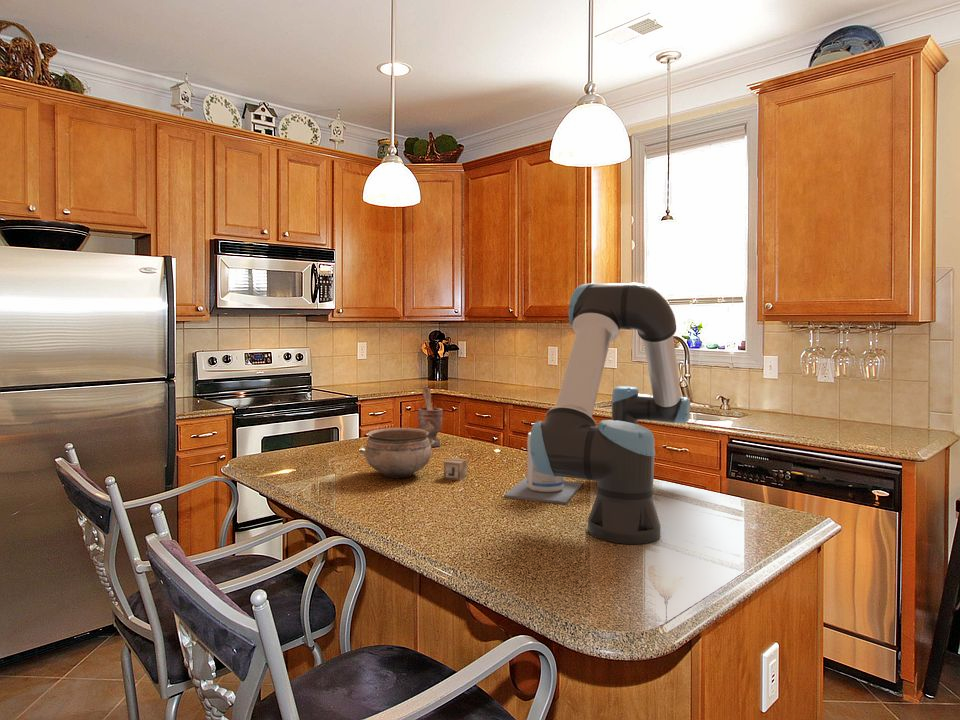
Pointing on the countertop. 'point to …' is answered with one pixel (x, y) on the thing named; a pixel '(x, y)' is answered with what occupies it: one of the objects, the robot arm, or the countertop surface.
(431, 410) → the mortar and pestle
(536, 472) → the supplement tub
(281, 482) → the countertop surface
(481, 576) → the countertop surface
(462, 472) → the lettered block
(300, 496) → the countertop surface
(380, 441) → the cooking pot
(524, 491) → the grey mat
